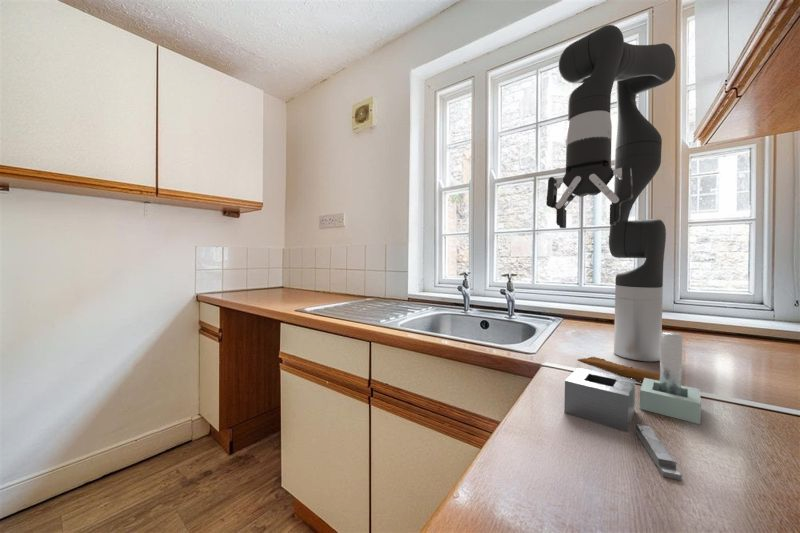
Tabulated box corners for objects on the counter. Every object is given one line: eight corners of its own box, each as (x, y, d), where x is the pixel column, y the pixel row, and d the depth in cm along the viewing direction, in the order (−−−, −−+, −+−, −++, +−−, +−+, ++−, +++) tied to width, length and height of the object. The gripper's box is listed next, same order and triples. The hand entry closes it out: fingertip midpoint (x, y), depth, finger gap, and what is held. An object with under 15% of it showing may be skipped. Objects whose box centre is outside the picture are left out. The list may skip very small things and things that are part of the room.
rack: (643, 394, 55) (644, 377, 55) (698, 407, 51) (699, 389, 50) (639, 408, 50) (640, 390, 50) (700, 424, 45) (701, 403, 45)
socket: (577, 395, 55) (578, 367, 55) (634, 411, 49) (635, 379, 49) (564, 412, 49) (564, 380, 49) (627, 431, 43) (628, 395, 43)
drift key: (635, 432, 43) (636, 424, 43) (650, 435, 43) (650, 426, 43) (663, 476, 34) (663, 465, 34) (681, 480, 34) (681, 469, 34)
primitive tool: (575, 361, 74) (576, 346, 74) (594, 359, 76) (595, 345, 76) (663, 396, 56) (664, 376, 56) (685, 393, 57) (686, 374, 57)
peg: (659, 402, 52) (661, 331, 52) (680, 408, 50) (682, 333, 50) (658, 408, 50) (660, 333, 50) (680, 413, 48) (682, 336, 48)
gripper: (636, 138, 59) (634, 225, 59) (554, 155, 68) (553, 230, 69) (631, 126, 53) (628, 222, 54) (543, 145, 63) (541, 227, 63)
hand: (586, 226), depth 61 cm, fingers open, 8 cm apart
